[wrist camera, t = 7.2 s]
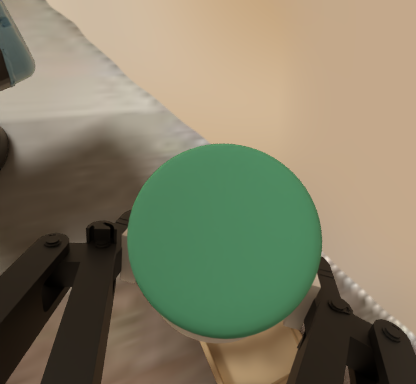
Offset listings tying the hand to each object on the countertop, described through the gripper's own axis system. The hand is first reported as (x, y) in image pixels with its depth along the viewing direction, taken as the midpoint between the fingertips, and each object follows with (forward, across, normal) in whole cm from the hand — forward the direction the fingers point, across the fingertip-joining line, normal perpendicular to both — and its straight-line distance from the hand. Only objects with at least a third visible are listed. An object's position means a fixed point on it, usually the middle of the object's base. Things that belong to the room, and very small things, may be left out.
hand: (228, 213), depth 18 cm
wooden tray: (+10, +7, -24) cm, 27 cm away
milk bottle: (+4, 0, -9) cm, 9 cm away
